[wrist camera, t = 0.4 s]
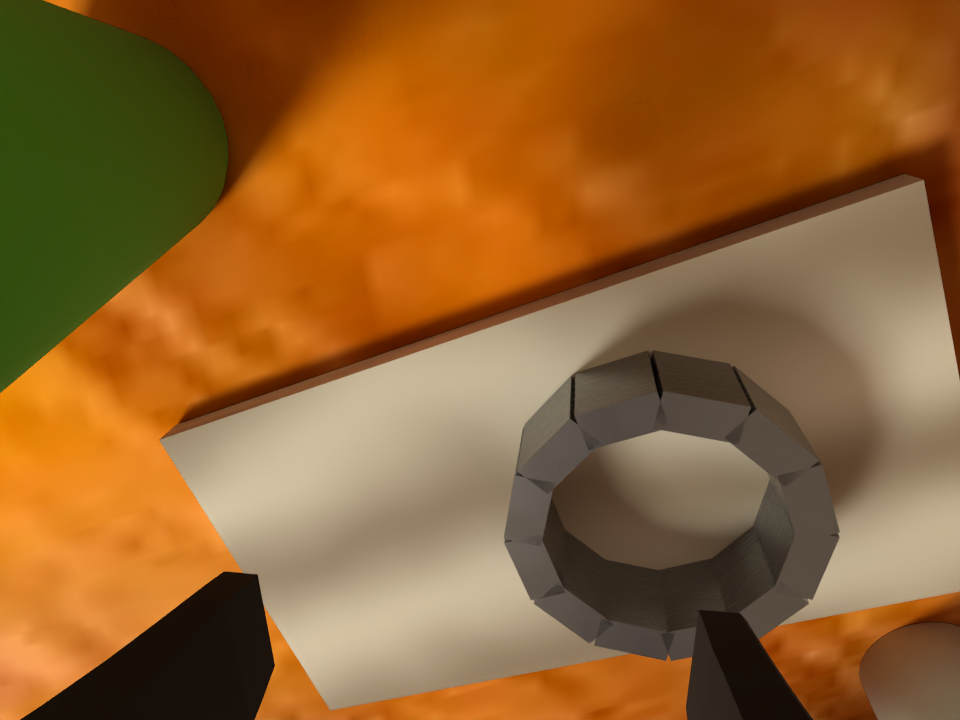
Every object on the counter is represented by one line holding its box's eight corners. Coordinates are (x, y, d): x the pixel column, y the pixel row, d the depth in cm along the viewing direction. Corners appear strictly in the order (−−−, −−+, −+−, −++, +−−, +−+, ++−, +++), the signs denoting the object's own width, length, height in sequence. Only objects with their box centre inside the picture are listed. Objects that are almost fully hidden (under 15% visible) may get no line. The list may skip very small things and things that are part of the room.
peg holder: (977, 561, 20) (1052, 653, 17) (339, 688, 26) (305, 774, 23) (905, 173, 16) (982, 198, 13) (176, 424, 22) (108, 484, 19)
